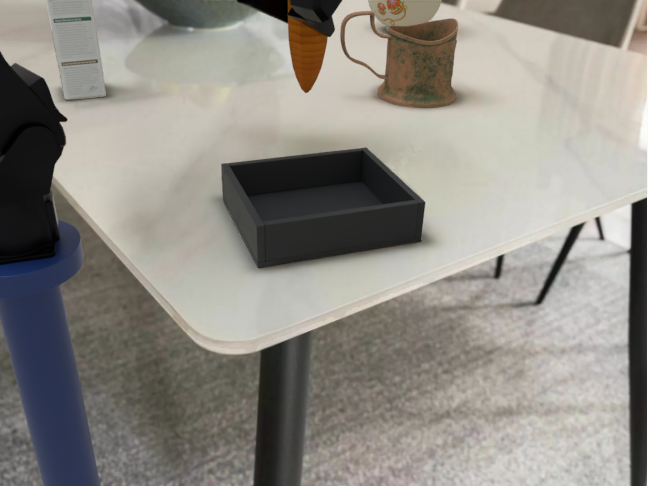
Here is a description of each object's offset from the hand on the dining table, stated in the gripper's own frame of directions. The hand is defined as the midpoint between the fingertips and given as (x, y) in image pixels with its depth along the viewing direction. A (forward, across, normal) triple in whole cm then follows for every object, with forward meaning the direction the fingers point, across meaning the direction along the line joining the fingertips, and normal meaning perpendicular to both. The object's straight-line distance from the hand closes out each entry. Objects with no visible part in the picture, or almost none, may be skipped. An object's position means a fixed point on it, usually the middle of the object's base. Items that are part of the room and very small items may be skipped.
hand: (316, 29), depth 77 cm
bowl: (+46, +33, -29) cm, 64 cm away
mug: (+24, +5, -6) cm, 25 cm away
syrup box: (0, +34, +19) cm, 39 cm away
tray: (0, -16, +19) cm, 25 cm away
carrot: (+4, 0, +6) cm, 7 cm away
